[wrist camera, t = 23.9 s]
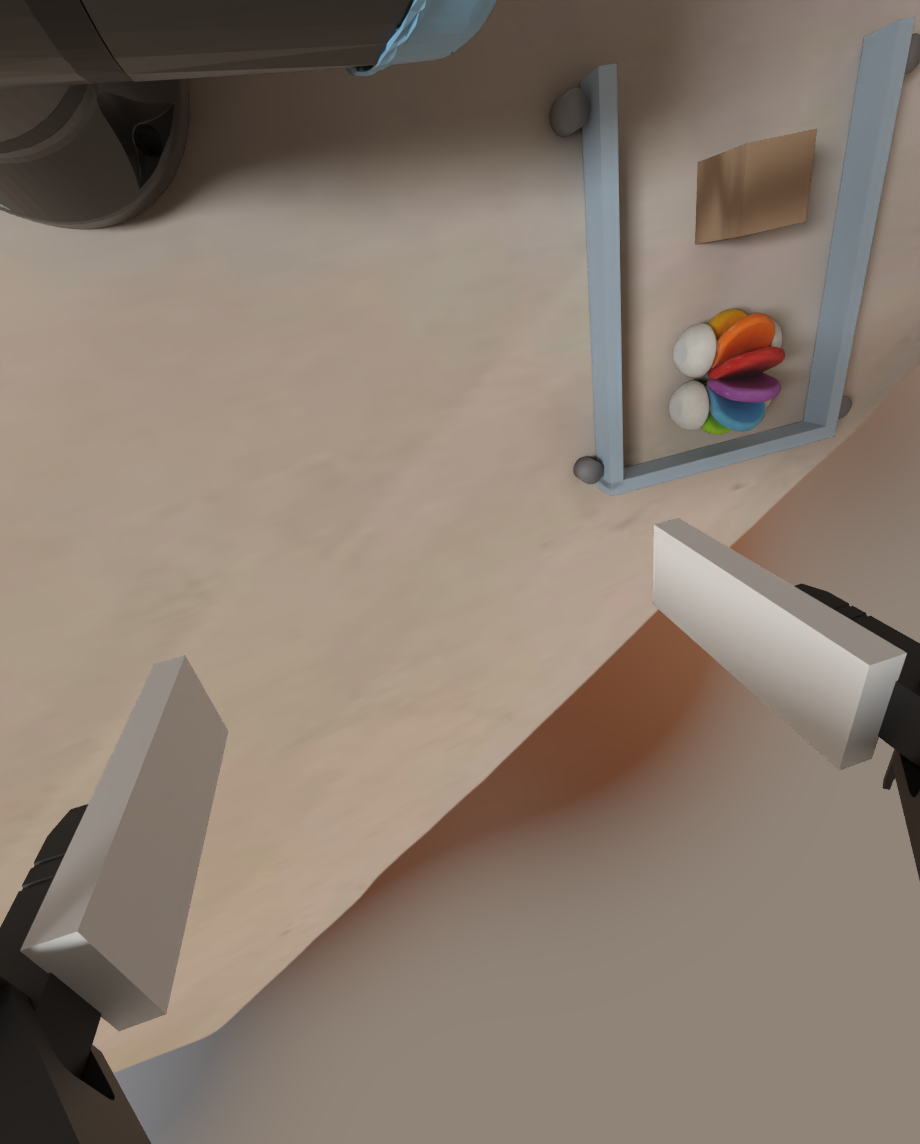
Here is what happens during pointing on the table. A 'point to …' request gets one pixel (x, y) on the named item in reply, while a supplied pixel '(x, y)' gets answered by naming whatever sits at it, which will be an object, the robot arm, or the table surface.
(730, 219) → the walnut block
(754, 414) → the rainbow segmented toy
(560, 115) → the cart frame
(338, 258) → the table surface
